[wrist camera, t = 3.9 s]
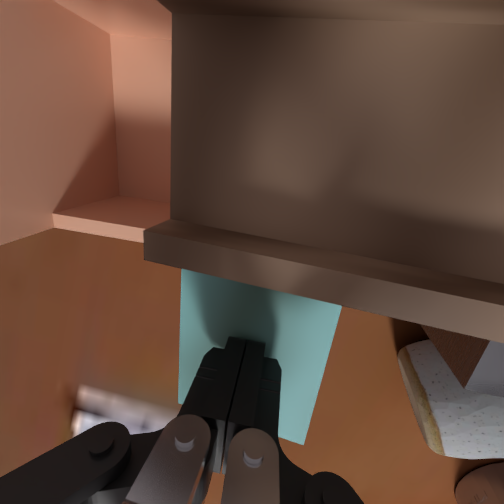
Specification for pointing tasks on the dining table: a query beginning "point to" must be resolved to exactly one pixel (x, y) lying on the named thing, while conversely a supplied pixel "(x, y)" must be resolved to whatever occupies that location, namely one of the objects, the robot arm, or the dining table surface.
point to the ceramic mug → (450, 407)
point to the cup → (84, 117)
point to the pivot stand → (471, 360)
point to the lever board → (332, 175)
